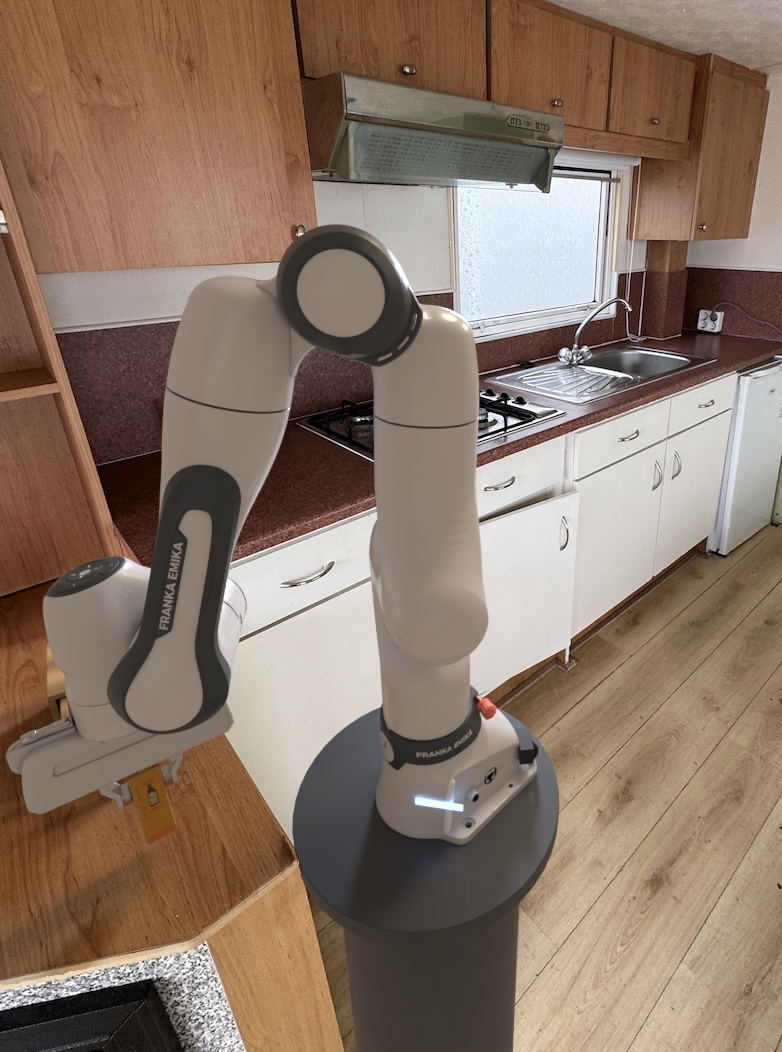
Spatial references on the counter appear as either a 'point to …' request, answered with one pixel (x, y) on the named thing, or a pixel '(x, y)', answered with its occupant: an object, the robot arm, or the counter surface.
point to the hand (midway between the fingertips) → (149, 790)
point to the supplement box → (152, 803)
